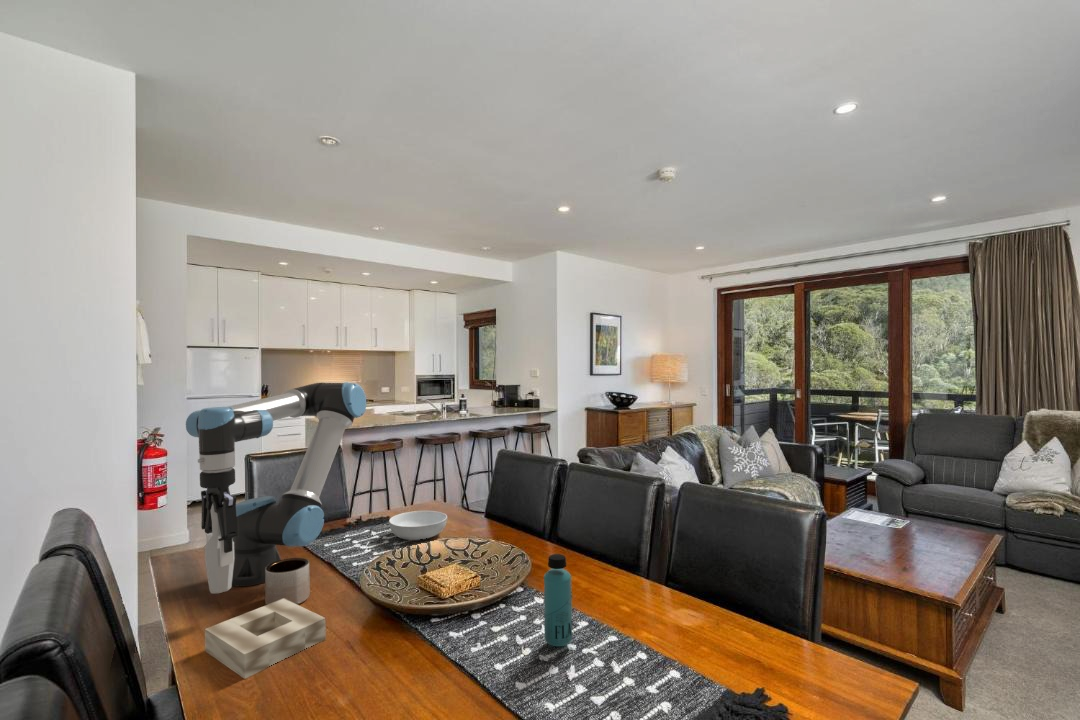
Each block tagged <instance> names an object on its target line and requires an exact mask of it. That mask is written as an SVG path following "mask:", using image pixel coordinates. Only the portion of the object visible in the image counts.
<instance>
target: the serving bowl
mask: <svg viewBox="0 0 1080 720" xmlns="http://www.w3.org/2000/svg"><path fill="white" fill-rule="evenodd" d="M447 521H448V515H447V514H446V513H444V512H441V511H436V510H435V511H434V510H414V511H406V512H402V513H399V514H396V515H394V516H391V517H390V518H389V520H388V524H389V525H388V526H389V528H390V531H391V532H392V533H393V534H394V535H395V536H396V537H398V538H400V539H403V540H408V541H421V540H420V539H423V540H427V539H430V538H432V537H436V536H437V535H439V534H441V532H442V531H443V530H444V528H445V527H446V526H447ZM426 538H427V539H426Z"/></svg>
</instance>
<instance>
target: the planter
mask: <svg viewBox="0 0 1080 720" xmlns="http://www.w3.org/2000/svg"><path fill="white" fill-rule="evenodd" d="M310 582H311V581H310V561H309V559H307V558H303V557H291V558H290V557H289V558H285V559H284V558H283V559H281V560H279V561H276V562H274V563H271V564H270V565H268V566H267V567H266V569H265V582H264V584H265V585H264V586H265V589H264V591H265V592H264V593H265V595H264V596H265V597H264V598H265V601H264V602H265V606H266V605H268V604H271V603H273V602H276V601H278V600H281V599H286V600H288V601H290V602H293V603H295V604H297V605H300V604H303V603H304V602H306V601H307V600H308V598H309V597H310V594H311V585H310V584H311V583H310Z"/></svg>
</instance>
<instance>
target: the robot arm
mask: <svg viewBox="0 0 1080 720" xmlns="http://www.w3.org/2000/svg"><path fill="white" fill-rule="evenodd" d="M366 409H367V397H366V393H365V391H364V389H363V388H362V386H361V385H360V384H359V383H356V382H348V381H344V382H313V383H311V384H305V385H301V386H298V387H295V388H290V389H287V390H285V391H284V393H282V394H278V395H273V396H270V397H264V398H259V399H256V400H251V401H246V402H241V403H238V404H233V405H227V406H213V407H205V408H202V409H201V410H194V411H193V412H191V413H189V415H187V418H186V420H185V430H186V432H187V433H188V434H189V435H190V436H191V437H192V438H193V437H194V438H198V451H199V452H198V453H199V458H198V459H197V463H199V470H200V471H201V472H200V473H199V486H200V488H202V489H205V490H201V491H200V496H201V530H204V532H205V536H206V538H205V541H206V543H205V545H206V544H207V542H208V541H209V539H210V538H211V537H212V519H211V511H210V510H211V507H212V504H213V506H214V511H215V513H217V516H218V521H219V527H220V533H221V538H220V539H218V540H219V543H220V566H221V567H223V566H226V565H229V564H232V563H233V542H234V568H233V577H232V586H233V587H247V586H256V585H259V584H263V583H264V584H265V569H266V567H267V566H268V565H270V564H271V563H274V562H276V561H279V560H282V558H281V556H280V553H279V550H278V548H277V546H283V547H284V546H286V547H289V548H294V547H306V546H309V545H310V544H311V543H312V542H315V540H316V539H317V538H318V537H319V536H320V534H321V532H322V529H323V527H324V522H325V519H324V517H325V513H324V510H323V509H322V505H323V503H322V501H321V499H320V496H321V493H322V491H323V489H324V486H325V483H326V480H327V478H328V475H329V473H330V470H331V467H332V464H333V462H334V459H335V457H336V454H337V451H338V449H339V447H340V443H341V441H342V439H343V436H344V433H345V430H346V429H348V428H351V426H352V425H353V423H354V420H355V419H358V418H360V417H362V416H363V415H364V414H365V411H366ZM288 417H290V418H294V419H295V418H300V417H317V420H318V422H317V425H316V428H315V429H314V432H313V435H312V438H311V440H310V442H309V445H308V447H307V449H306V451H305V454H304V456H303V458H302V461H301V464H300V466H299V468H298V471H297V472H296V476H295V478H294V481H293V483H292V485H291V487H290V489H289V490H288V491H285V492H284V493H282V495H281V498H280V501H279V502H278V503H277V499H276V497H275V496H273V495H266V496H260V497H254V498H250V499H245V500H242V501H239V502H237V496H236V495H232V496H231V492H230V486H231V485H234V484H235V482H236V469H234V467H236V449H235V448H236V447H235V445H236V444H235V443H238V442H242V441H247V440H252V439H259V438H262V437H264V436H268V435H269V434H270V433H271V432H272V430H273V427H274V421H277V420H281V419H285V418H288ZM222 507H223V508H222ZM232 586H231V587H232Z"/></svg>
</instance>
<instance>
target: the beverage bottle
mask: <svg viewBox="0 0 1080 720" xmlns="http://www.w3.org/2000/svg"><path fill="white" fill-rule="evenodd" d="M547 566H548V568H550V569H548V571H547V572H545V574H544V575H543V591H544V592H543V595H544V599H543V601H544V603H543V604H544V608H543V609H544V610H543V611H544V613H543V616H544V621H543V622H544V623H543V626H544V627H543V628H544V629H543V633H544V640H545V642H546V643H547V644H548V645H550V646H554V647H564V646H566V645H569V644H570V643H571V642H572V639H573V635H574V634H573V630H574V628H573V625H574V624H573V609H572V607H573V604H572V603H573V592H572V591H573V590H572V575H571V573H570V572H569V571H568V570H567V569H565V568H567V557H566V556H565V555H564V554H561V553H554V554H551V555H549V556H548V562H547Z"/></svg>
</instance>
